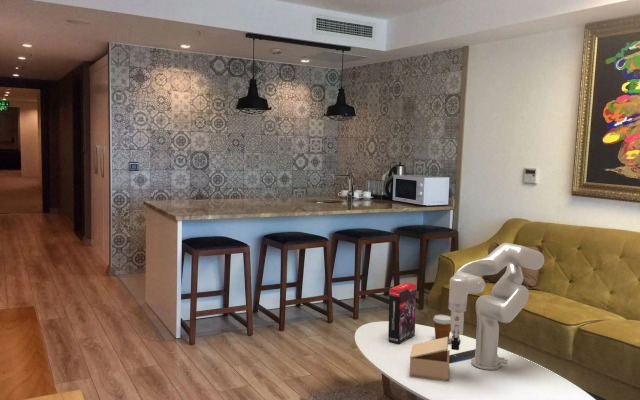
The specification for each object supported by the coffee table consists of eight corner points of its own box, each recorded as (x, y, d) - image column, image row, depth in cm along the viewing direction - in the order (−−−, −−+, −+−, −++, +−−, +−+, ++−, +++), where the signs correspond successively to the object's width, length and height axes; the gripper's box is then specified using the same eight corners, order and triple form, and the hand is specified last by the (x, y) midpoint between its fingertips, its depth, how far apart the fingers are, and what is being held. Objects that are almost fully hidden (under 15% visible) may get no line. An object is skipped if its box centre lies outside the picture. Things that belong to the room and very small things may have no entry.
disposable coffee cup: (428, 340, 275) (429, 317, 274) (438, 335, 282) (439, 313, 281) (445, 345, 269) (446, 322, 268) (455, 340, 276) (456, 317, 274)
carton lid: (461, 339, 240) (459, 330, 240) (461, 351, 226) (458, 342, 226) (414, 349, 246) (411, 340, 246) (411, 361, 232) (408, 352, 232)
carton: (448, 367, 243) (449, 350, 242) (448, 381, 229) (449, 362, 228) (412, 363, 247) (413, 346, 246) (409, 376, 233) (410, 358, 232)
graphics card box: (398, 345, 268) (401, 291, 265) (386, 341, 272) (388, 288, 269) (415, 335, 281) (417, 284, 278) (403, 332, 285) (405, 281, 282)
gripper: (466, 312, 223) (464, 356, 225) (466, 301, 239) (464, 341, 241) (448, 311, 225) (445, 353, 227) (448, 299, 241) (446, 339, 243)
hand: (455, 347), depth 234 cm, fingers closed on carton lid, 4 cm apart
